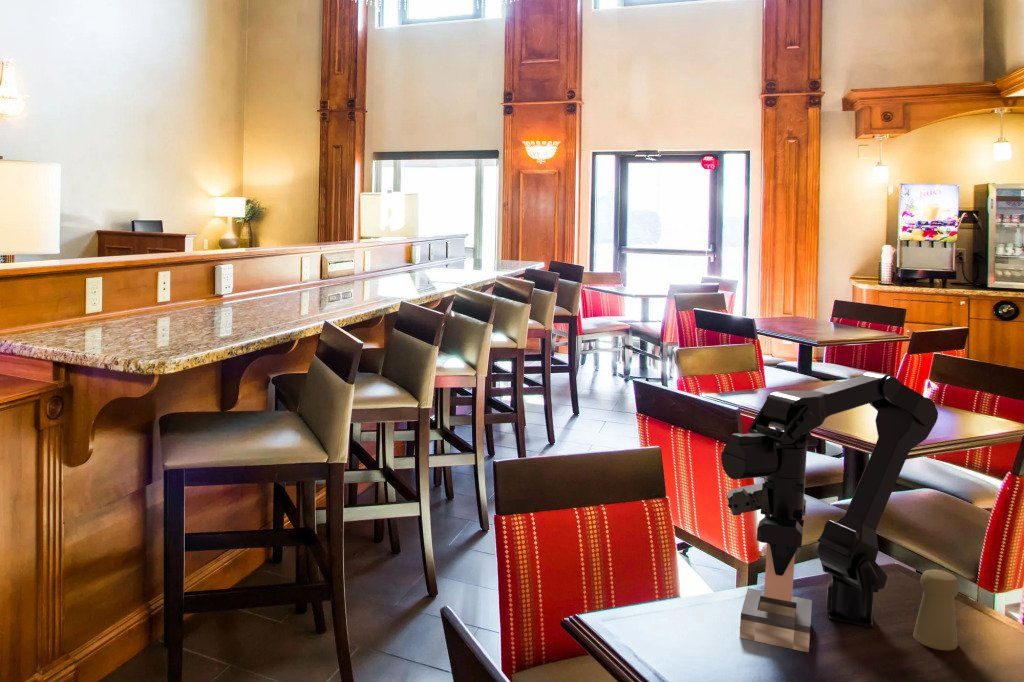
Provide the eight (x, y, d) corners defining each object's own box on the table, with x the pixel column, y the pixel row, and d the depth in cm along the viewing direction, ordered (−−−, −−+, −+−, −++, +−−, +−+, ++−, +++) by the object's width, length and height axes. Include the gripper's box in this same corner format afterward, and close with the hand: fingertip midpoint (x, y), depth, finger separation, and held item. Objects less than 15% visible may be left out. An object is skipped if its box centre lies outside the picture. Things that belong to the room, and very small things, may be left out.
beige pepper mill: (964, 652, 109) (970, 583, 108) (920, 647, 111) (926, 578, 110) (948, 633, 115) (954, 567, 114) (907, 628, 117) (912, 563, 115)
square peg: (792, 591, 115) (796, 531, 114) (791, 601, 112) (794, 539, 111) (766, 586, 117) (769, 527, 116) (764, 596, 113) (767, 535, 112)
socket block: (810, 623, 118) (812, 600, 117) (808, 652, 108) (810, 627, 108) (746, 610, 122) (747, 587, 121) (739, 637, 112) (740, 613, 112)
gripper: (738, 453, 124) (734, 541, 126) (724, 482, 107) (719, 583, 109) (808, 462, 120) (803, 552, 121) (804, 492, 103) (798, 597, 104)
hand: (779, 569), depth 114 cm, fingers closed on square peg, 4 cm apart
